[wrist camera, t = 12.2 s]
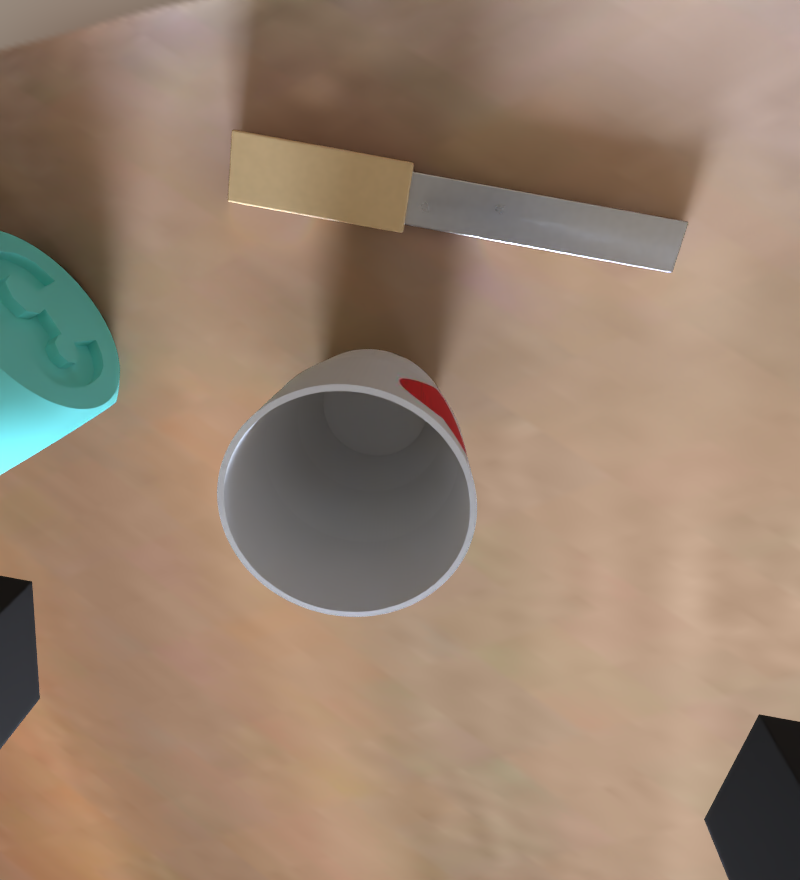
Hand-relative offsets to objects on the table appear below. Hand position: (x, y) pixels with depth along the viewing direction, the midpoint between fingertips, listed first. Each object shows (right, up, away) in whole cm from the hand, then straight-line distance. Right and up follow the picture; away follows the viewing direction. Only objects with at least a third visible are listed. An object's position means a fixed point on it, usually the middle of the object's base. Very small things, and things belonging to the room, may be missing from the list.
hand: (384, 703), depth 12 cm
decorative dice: (-17, +9, +17) cm, 26 cm away
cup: (-1, +6, +18) cm, 19 cm away
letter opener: (+3, +14, +14) cm, 20 cm away
